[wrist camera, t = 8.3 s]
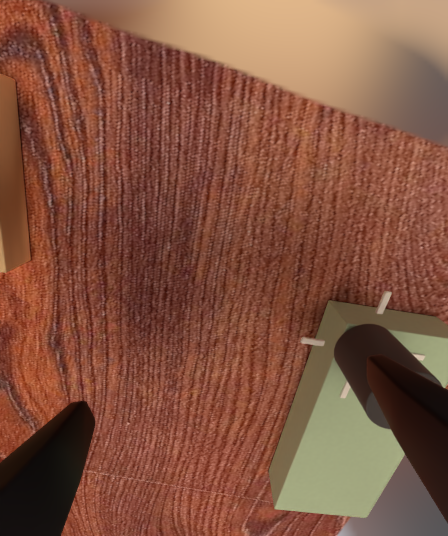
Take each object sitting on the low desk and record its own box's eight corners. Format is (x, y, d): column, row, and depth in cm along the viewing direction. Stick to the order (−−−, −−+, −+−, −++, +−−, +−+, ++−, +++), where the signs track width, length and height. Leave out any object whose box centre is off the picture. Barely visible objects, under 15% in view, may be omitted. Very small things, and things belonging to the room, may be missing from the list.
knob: (339, 378, 17) (375, 444, 13) (327, 333, 16) (363, 390, 12) (396, 362, 17) (452, 425, 13) (389, 315, 15) (448, 368, 11)
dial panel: (304, 261, 18) (321, 281, 15) (452, 286, 18) (496, 309, 15) (242, 467, 25) (245, 509, 22) (350, 479, 25) (367, 520, 22)
